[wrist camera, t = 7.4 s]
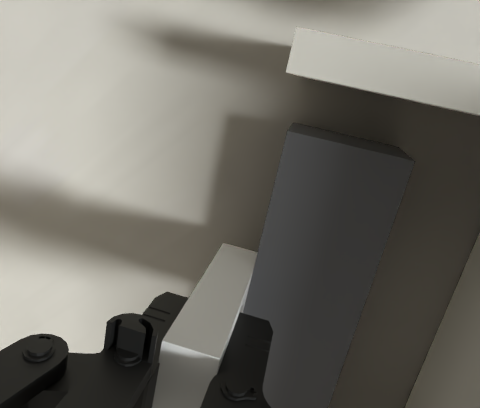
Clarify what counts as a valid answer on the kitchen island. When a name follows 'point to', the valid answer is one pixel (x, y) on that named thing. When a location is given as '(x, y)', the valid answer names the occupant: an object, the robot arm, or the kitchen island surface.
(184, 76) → the kitchen island surface
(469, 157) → the kitchen island surface
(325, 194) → the dark grey block
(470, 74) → the white u-shaped bracket
